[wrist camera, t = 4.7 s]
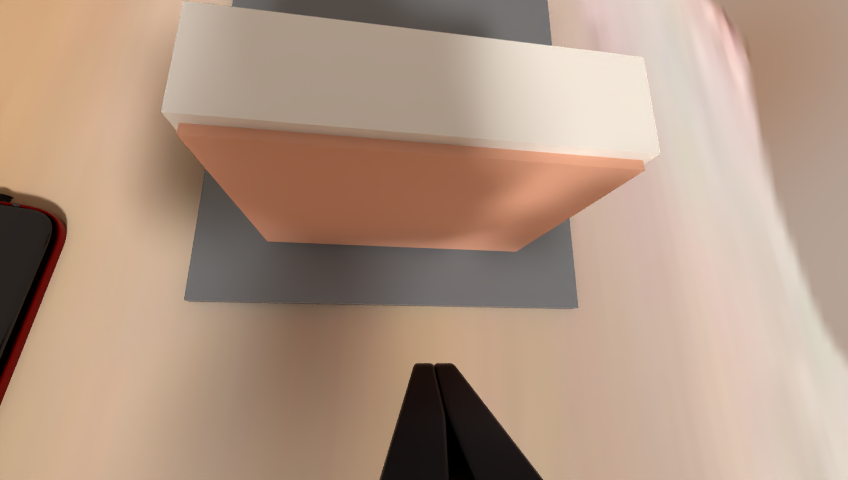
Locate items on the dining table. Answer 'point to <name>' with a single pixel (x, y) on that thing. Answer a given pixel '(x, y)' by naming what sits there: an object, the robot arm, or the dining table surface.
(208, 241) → the charcoal mat
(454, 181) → the cream and orange slab
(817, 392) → the dining table surface
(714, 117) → the dining table surface
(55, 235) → the smartphone
